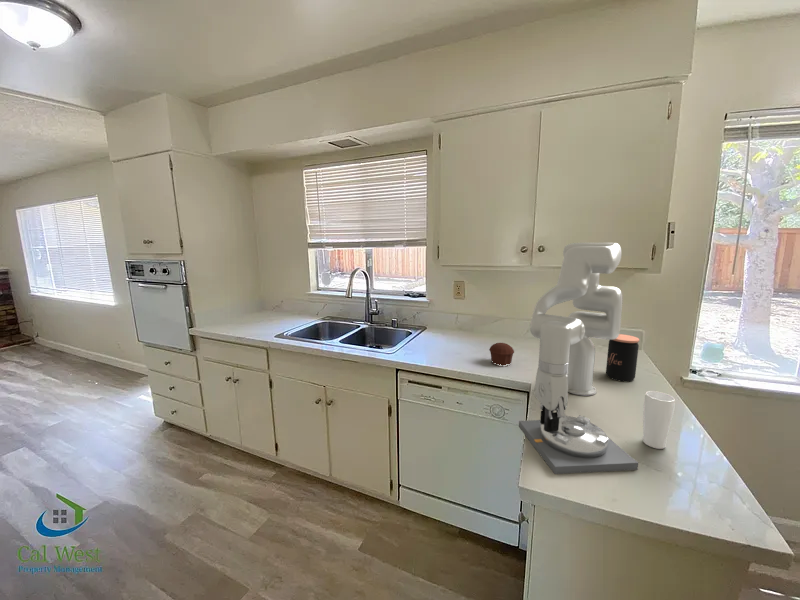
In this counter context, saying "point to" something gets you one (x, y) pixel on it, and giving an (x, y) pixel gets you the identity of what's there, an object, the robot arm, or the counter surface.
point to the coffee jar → (622, 357)
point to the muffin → (501, 353)
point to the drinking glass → (657, 418)
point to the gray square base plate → (568, 463)
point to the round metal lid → (576, 436)
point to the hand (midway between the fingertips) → (549, 426)
